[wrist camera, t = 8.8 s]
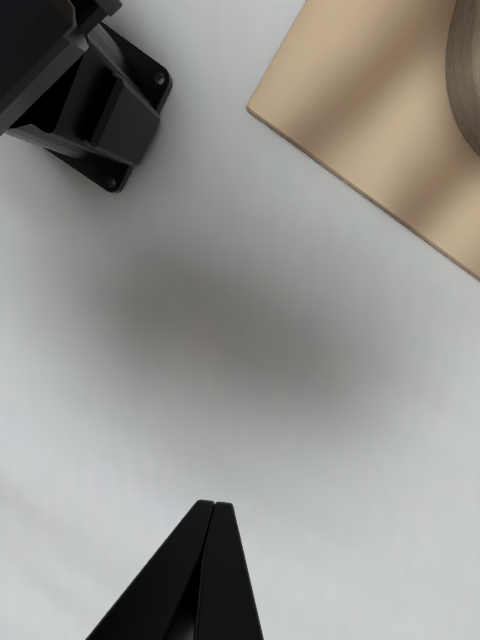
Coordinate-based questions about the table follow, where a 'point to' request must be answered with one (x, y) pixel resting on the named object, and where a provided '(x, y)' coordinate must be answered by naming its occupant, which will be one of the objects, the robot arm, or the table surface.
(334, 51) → the wooden board
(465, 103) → the cooker body
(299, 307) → the table surface
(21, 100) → the robot arm
